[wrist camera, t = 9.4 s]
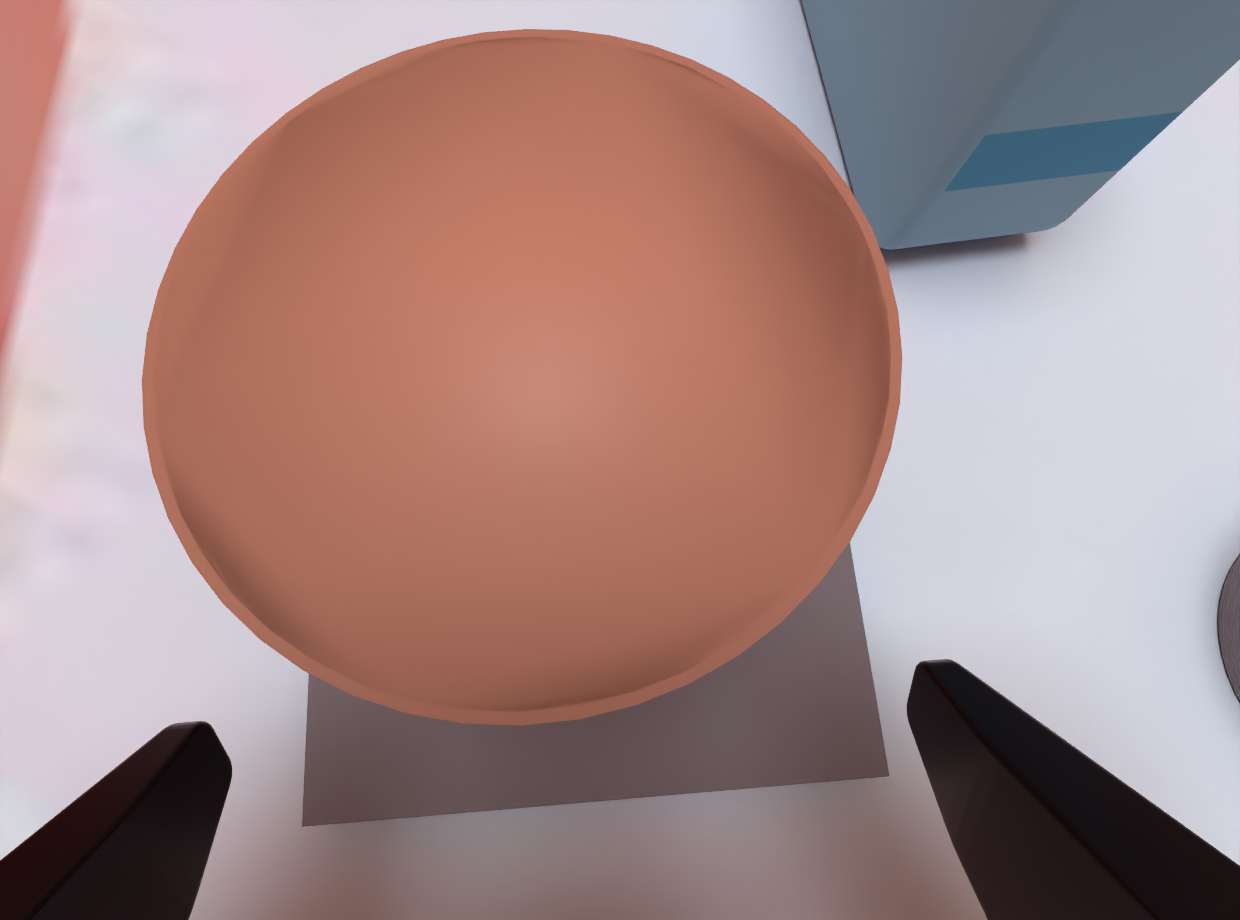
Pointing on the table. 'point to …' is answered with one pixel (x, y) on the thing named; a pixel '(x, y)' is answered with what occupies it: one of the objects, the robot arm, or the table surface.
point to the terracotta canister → (522, 377)
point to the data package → (1005, 102)
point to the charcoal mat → (620, 733)
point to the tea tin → (1231, 626)
